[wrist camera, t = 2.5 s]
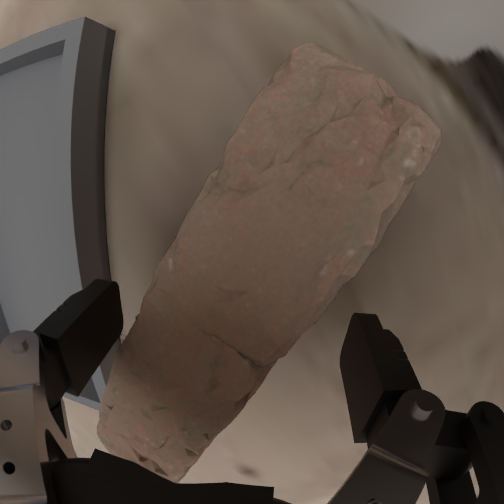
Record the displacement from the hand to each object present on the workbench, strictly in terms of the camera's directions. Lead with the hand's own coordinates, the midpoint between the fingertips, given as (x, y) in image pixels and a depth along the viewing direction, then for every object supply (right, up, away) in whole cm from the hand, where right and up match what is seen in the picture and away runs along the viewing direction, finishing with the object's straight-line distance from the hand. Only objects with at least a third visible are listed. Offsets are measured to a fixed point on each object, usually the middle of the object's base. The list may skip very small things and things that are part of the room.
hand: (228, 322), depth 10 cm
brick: (+1, +2, +6) cm, 7 cm away
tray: (-14, +4, +7) cm, 16 cm away
